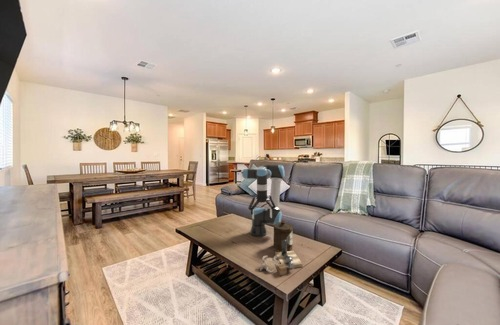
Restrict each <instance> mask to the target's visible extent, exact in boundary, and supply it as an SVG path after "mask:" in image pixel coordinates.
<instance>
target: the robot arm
mask: <svg viewBox="0 0 500 325" xmlns="http://www.w3.org/2000/svg"><path fill="white" fill-rule="evenodd" d="M285 172H286V171H285V168H284V165H282V164H264V165H261V166H260V165H259V166H258V167H254V168H244V169H243V170H242V172H241V173H242V178H243V179H252V180H256V196H254V195H253V196H252V198H251V201H250V203H249V205H248V208H247V209H248V210H249V211H250V215H251V222H252V223H251V227H250V232H249V234H250V235H251V236H253V237H257V238H258V237H259V238H260V237H264V236H266V235H267V234H268V231H267V228H266V224H268V225H273V226H274V224H275V223H279V222H281V221H282V217H283V212H282V211H281V209H280V197H281V195H280V194H281V184H282V182H281V181H283V179H284V178H286V177H285V174H286V173H285ZM269 179H270V181H271V183H270V193H269V194H270V195H268V180H269ZM268 199H269V201H268ZM260 203H266V204H267V205H268V207H267V209H266V208H265V207H257V205H259V204H260Z"/></svg>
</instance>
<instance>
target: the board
mask: <svg viewBox="0 0 500 325" xmlns="http://www.w3.org/2000/svg"><path fill="white" fill-rule="evenodd" d="M274 253H275V254H274V256H275V255H277V258H276V260H278V261H279V262H280V264H282V263H283V264H284V265H285V266H286V267H287V269H290V268H289V266H288V265H286V260H285V258H284V256H283V255H282V252H280V251H275V252H274ZM287 255H288V256H291V257H292V258H293V264H294V268H293V269H295V268H303V265H304V264H303V262H302V261H301V260H300V258H299V257H298V255H297V254H296V252H295V251H294V250H291V251H287Z"/></svg>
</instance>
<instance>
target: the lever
mask: <svg viewBox="0 0 500 325" xmlns="http://www.w3.org/2000/svg"><path fill="white" fill-rule="evenodd" d="M282 255H283V256H284V258H285V260H286V265H288V266H289V268H288V269H295V268H294V264H293V258H292V257H291V256H288V255H287V239H282Z"/></svg>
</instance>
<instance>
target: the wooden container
mask: <svg viewBox="0 0 500 325" xmlns="http://www.w3.org/2000/svg"><path fill="white" fill-rule="evenodd" d="M282 239H287V251H293V241H294V240H293V239H294V238H293V224H291V223H290V222H286V221H285V219H284V220H281V222H279V223H275V224H274V225H273V244H272V245H273V249H274V250H275V251H276V252H282Z"/></svg>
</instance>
